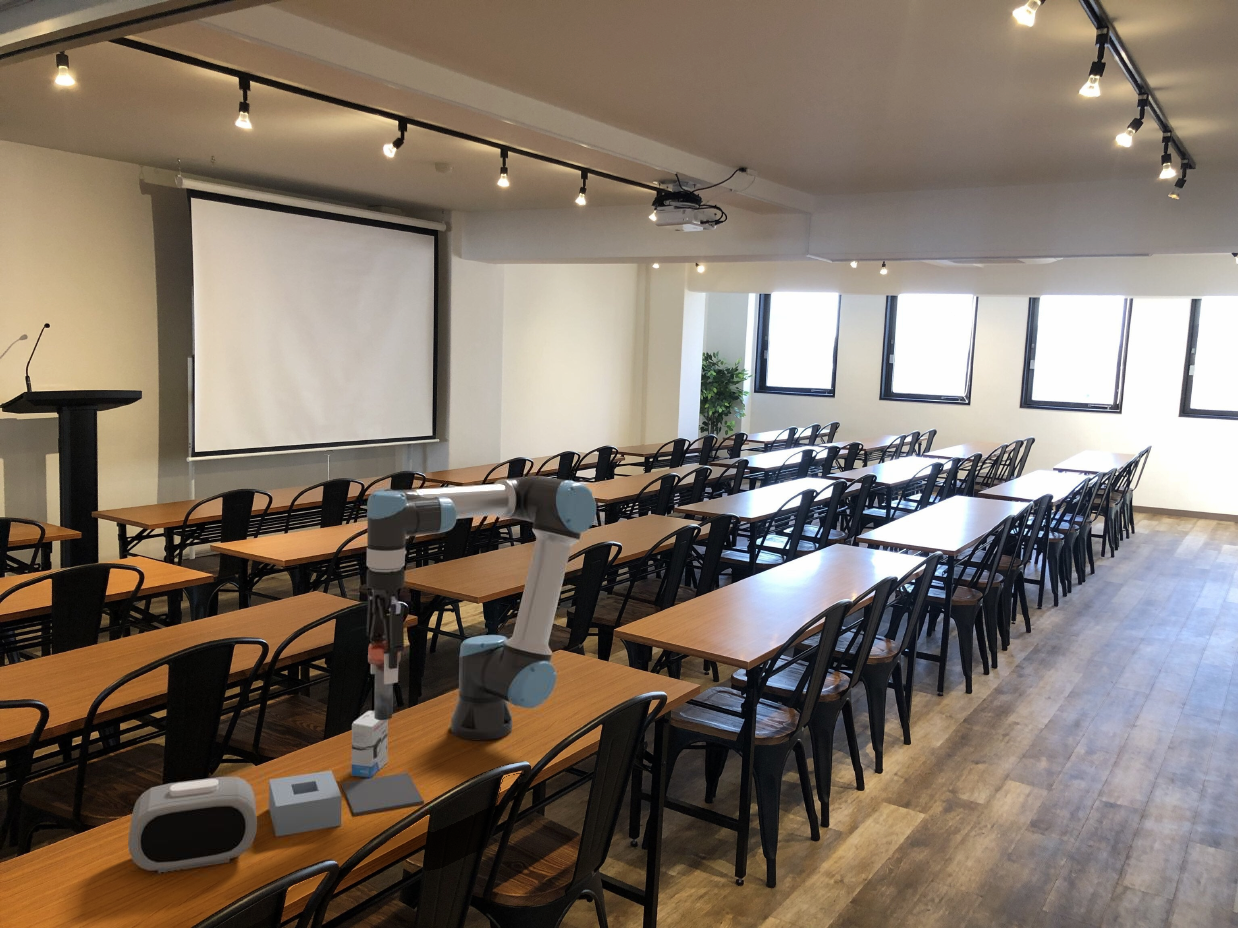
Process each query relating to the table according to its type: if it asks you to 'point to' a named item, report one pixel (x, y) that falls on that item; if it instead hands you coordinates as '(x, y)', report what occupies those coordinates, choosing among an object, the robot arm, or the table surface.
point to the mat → (381, 793)
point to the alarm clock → (192, 824)
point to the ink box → (368, 745)
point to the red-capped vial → (381, 682)
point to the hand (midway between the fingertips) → (384, 677)
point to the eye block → (304, 803)
